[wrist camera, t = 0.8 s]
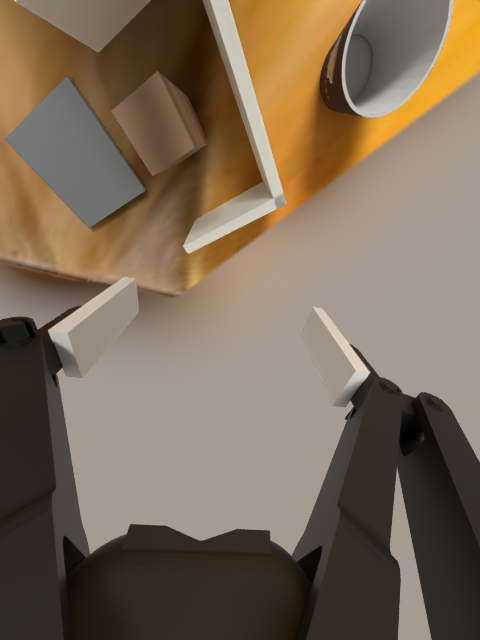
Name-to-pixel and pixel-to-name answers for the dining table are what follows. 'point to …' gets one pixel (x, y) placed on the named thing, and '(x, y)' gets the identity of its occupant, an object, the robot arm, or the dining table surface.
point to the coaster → (76, 155)
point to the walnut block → (160, 124)
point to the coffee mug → (384, 55)
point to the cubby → (125, 3)
